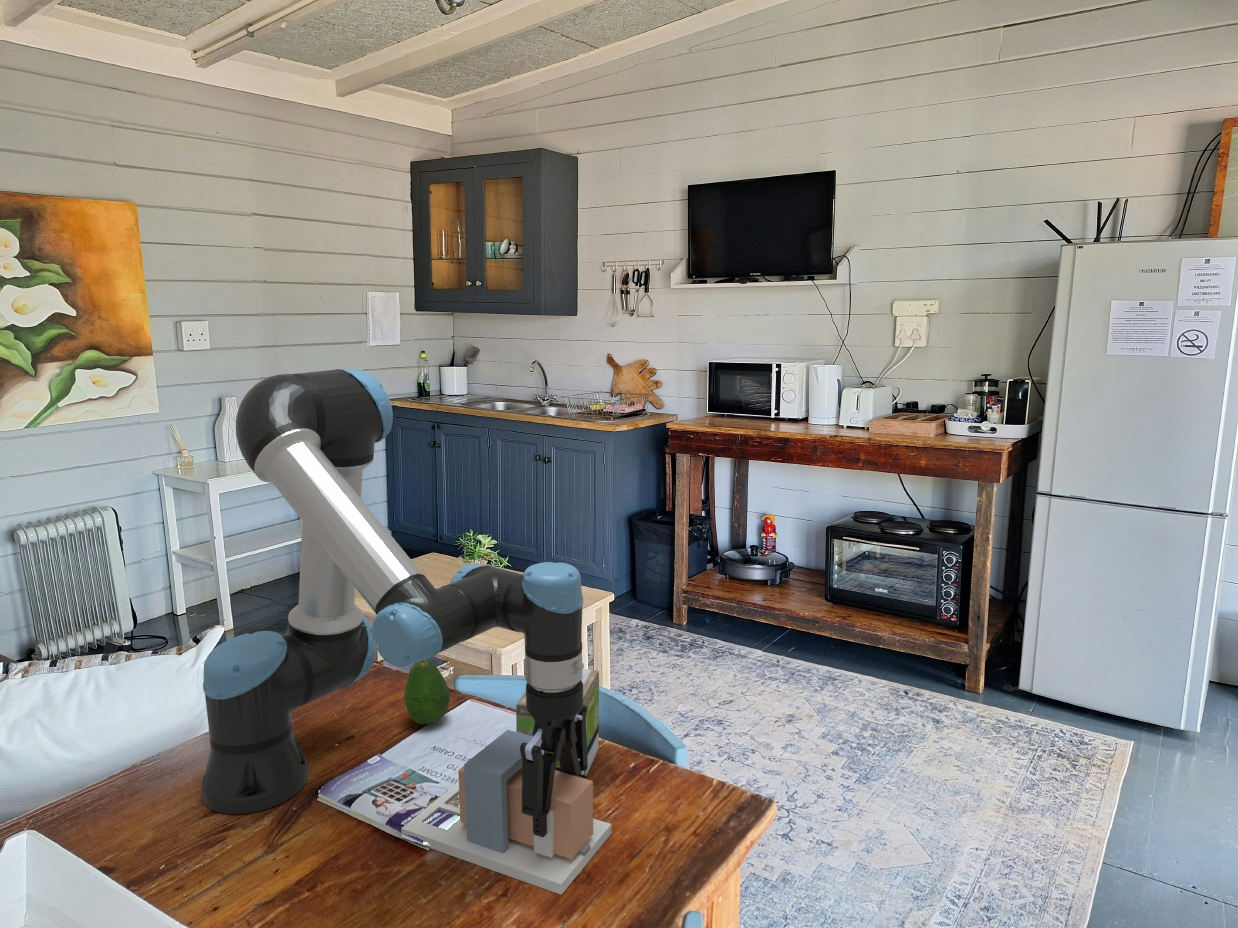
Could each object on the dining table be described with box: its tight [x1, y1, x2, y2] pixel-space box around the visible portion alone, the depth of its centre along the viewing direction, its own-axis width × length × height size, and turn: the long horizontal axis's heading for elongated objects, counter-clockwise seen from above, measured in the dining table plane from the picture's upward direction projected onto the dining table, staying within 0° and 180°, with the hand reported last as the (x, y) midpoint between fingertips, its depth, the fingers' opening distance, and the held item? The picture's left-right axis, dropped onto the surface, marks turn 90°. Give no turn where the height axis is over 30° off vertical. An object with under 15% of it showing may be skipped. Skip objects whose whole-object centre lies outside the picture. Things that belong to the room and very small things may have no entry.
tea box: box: [515, 668, 600, 777], centre depth 134 cm, size 15×10×15 cm
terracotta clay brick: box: [457, 765, 594, 859], centre depth 116 cm, size 18×6×8 cm, turn 63°
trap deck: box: [400, 729, 612, 896], centre depth 117 cm, size 26×14×13 cm, turn 63°
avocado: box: [403, 659, 451, 726], centre depth 149 cm, size 8×8×12 cm
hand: (557, 838), depth 114 cm, fingers closed on terracotta clay brick, 6 cm apart
